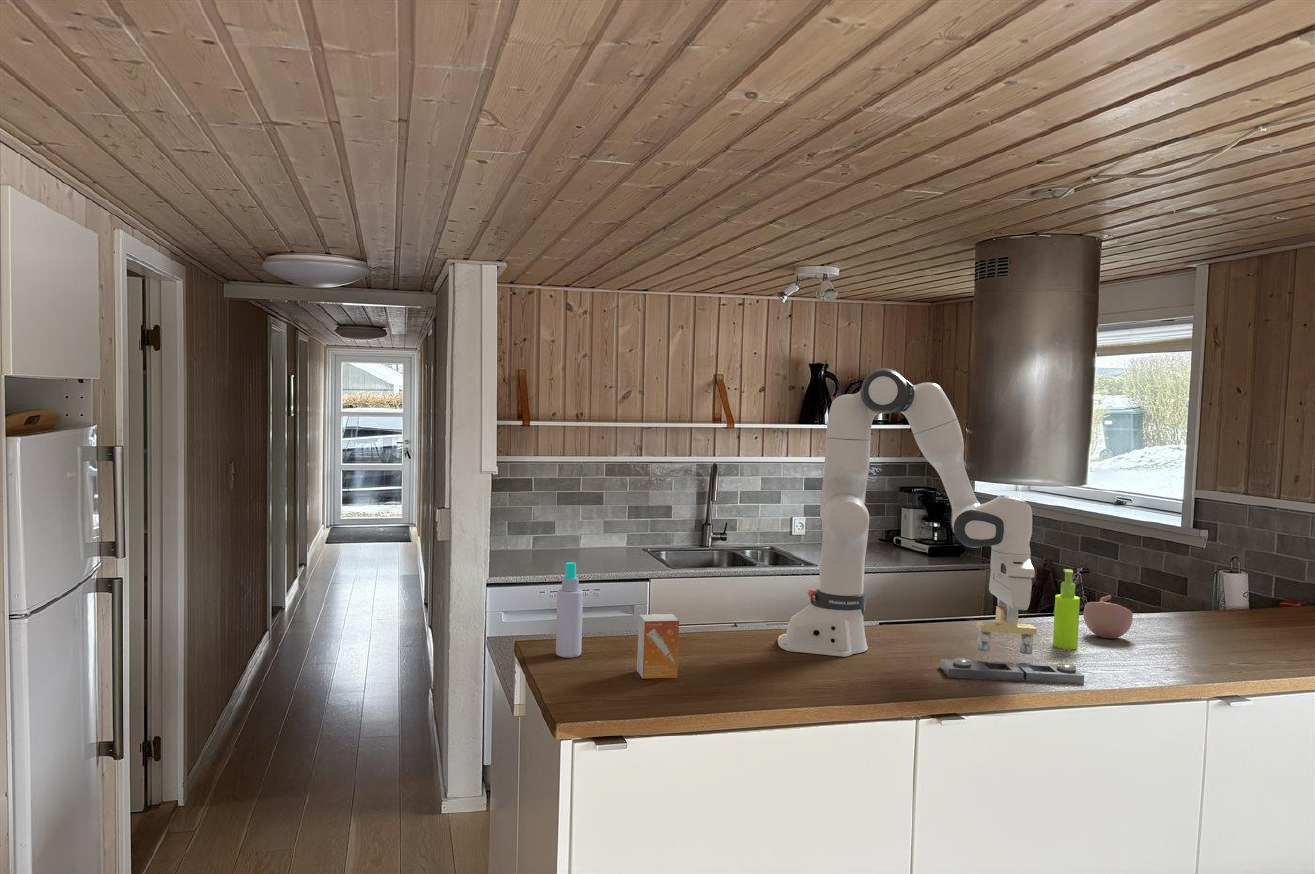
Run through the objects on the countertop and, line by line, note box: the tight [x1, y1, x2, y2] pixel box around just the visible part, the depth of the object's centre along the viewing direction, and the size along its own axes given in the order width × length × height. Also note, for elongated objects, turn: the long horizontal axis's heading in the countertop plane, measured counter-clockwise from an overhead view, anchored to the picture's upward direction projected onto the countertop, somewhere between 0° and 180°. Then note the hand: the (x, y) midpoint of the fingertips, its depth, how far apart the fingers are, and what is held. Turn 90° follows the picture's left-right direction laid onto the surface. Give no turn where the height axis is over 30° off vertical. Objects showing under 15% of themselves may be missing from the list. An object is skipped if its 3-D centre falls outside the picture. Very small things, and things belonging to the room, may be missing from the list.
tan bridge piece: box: [975, 605, 1037, 655], centre depth 223 cm, size 13×4×10 cm, turn 86°
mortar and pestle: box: [1083, 594, 1134, 640], centre depth 251 cm, size 12×12×11 cm
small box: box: [636, 613, 680, 680], centre depth 206 cm, size 8×6×13 cm
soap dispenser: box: [1052, 568, 1081, 650], centre depth 241 cm, size 6×7×20 cm
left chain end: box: [939, 657, 1025, 682], centre depth 214 cm, size 17×8×3 cm, turn 86°
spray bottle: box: [555, 561, 584, 659], centre depth 219 cm, size 6×6×22 cm
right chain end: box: [1014, 662, 1085, 685], centre depth 213 cm, size 13×8×3 cm, turn 86°
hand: (1006, 620), depth 223 cm, fingers closed on tan bridge piece, 4 cm apart
